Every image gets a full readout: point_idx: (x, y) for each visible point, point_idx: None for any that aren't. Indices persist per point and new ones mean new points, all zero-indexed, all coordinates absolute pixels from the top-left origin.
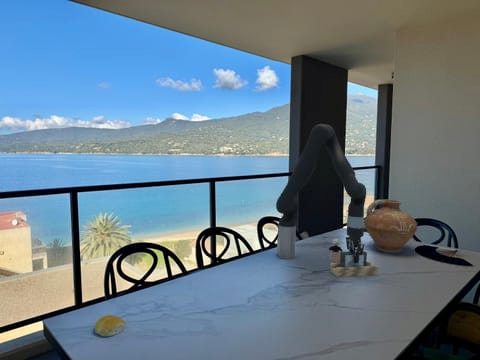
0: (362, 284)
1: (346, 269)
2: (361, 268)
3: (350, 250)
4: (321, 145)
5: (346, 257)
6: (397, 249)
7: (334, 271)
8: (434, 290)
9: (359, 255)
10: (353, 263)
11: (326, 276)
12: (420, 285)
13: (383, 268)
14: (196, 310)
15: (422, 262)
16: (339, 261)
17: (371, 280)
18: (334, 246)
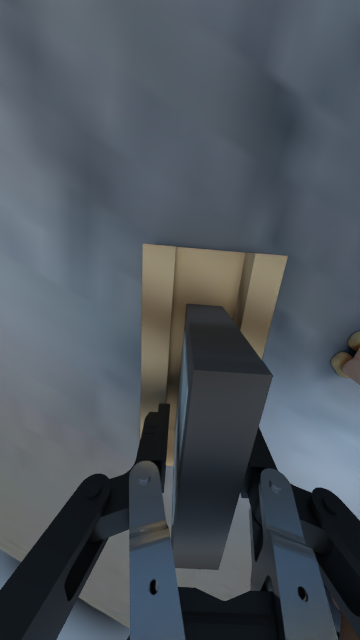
0: (41, 329)
1: (142, 317)
2: (141, 408)
3: (260, 495)
4: None
5: (185, 381)
6: (341, 612)
7: (194, 248)
8: (2, 514)
9: (175, 493)
10: (179, 398)
11: (173, 172)
12: (41, 506)
13: None
14: None
15: (227, 595)
16: (345, 373)
17: (90, 392)
18: None
